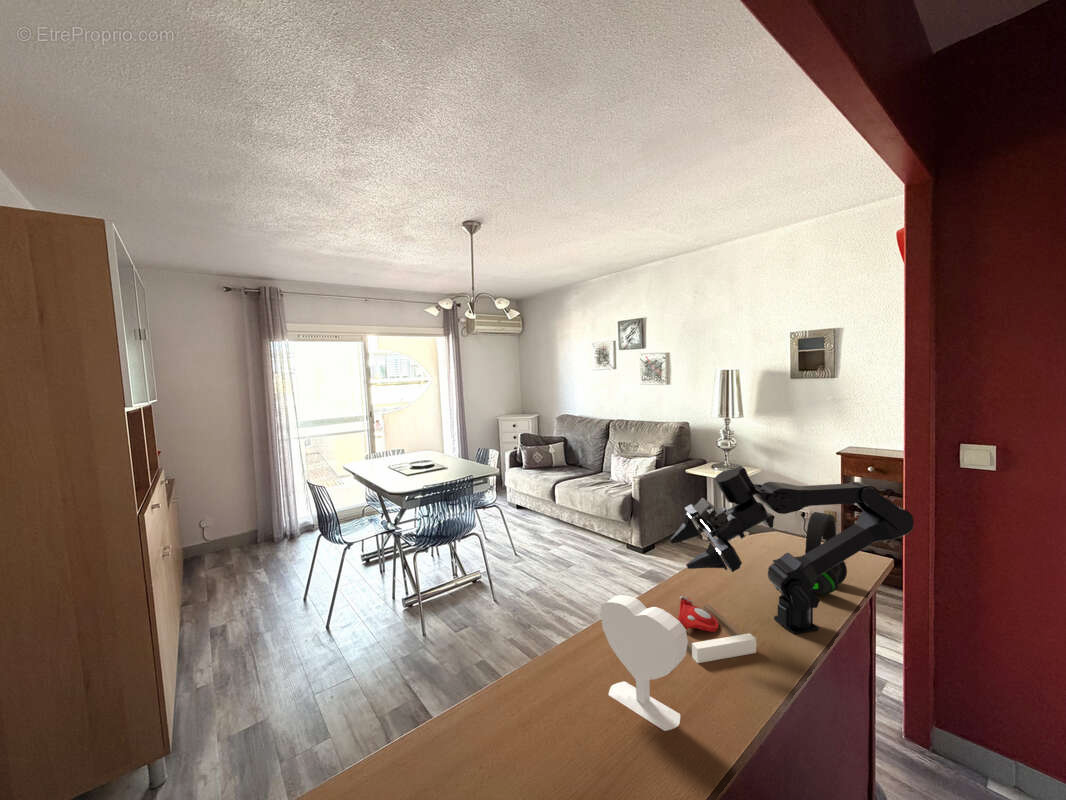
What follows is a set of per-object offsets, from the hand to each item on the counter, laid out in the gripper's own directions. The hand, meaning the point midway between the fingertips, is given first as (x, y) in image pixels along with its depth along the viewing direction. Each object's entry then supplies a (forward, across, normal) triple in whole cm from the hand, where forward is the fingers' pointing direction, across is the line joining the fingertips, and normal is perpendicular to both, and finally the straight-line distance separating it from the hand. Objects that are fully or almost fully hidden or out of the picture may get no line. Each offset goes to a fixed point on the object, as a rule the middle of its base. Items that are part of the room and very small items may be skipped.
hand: (678, 553), depth 101 cm
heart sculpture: (+20, +25, +2) cm, 32 cm away
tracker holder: (+5, +2, +17) cm, 18 cm away
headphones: (-27, -7, +39) cm, 48 cm away
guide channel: (+5, +6, +16) cm, 18 cm away
